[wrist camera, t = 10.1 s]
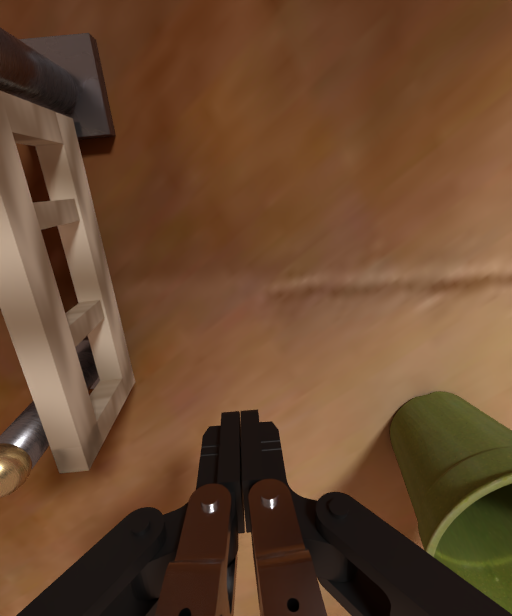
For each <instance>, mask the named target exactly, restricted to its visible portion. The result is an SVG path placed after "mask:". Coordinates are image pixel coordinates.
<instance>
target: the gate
mask: <svg viewBox="0 0 512 616" xmlns="http://www.w3.org/2000/svg"><path fill="white" fill-rule="evenodd" d="M15 143H20V144H26V145H31V146H35V147H36V151H37V154H38V158H39V162H40V165H41V169H42V172H43V176H44V180H45V183H46V187H47V190H48V194H49V198H50V201H44V202H34V203H33V202H32V198H31V195H30V192H29V188H28V185H27V181H26V178H25V175H24V171H23V168H22V164H21V161H20V157H19V154H18V151H17V147H16V144H15ZM55 226H57V227H58V230H59V234H60V238H61V241H62V245H63V248H64V252H65V256H66V259H67V263H68V267H69V270H70V274H71V277H72V281H73V285H74V288H75V292H76V295H77V299H78V304H77V305H76V306H74V307H73V308H72V309H70V310H69V311H68V312H66V313H65V311H64V308H63V304H62V301H61V297H60V294H59V291H58V287H57V284H56V280H55V277H54V273H53V270H52V267H51V263H50V260H49V256H48V253H47V250H46V246H45V243H44V239H43V236H42V233H41V230H42V229H46V228H50V227H55ZM0 308H1V311H2V314H3V317H4V320H5V322H6V325H7V328H8V331H9V333H10V336H11V339H12V342H13V345H14V347H15V350H16V353H17V356H18V359H19V361H20V364H21V367H22V370H23V373H24V375H25V378H26V381H27V384H28V387H29V389H30V392H31V395H32V398H33V401H34V403H35V406H36V409H37V412H38V414H39V417H40V420H41V423H42V426H43V428H44V431H45V434H46V437H47V440H48V442H49V445H50V448H51V451H52V454H53V456H54V459H55V462H56V465H57V468H58V470H59V473H69V472H79V471H88V470H89V469H90V467H91V466H92V464H93V462H94V460H95V458H96V456H97V454H98V452H99V450H100V448H101V446H102V445H103V443H104V441H105V439H106V437H107V435H108V433H109V431H110V429H111V427H112V425H113V424H114V422H115V420H116V418H117V416H118V414H119V412H120V410H121V408H122V406H123V404H124V402H125V401H126V399H127V397H128V395H129V393H130V391H131V389H132V387H133V385H134V383H135V379H134V374H133V370H132V366H131V362H130V358H129V353H128V349H127V345H126V341H125V336H124V332H123V328H122V324H121V320H120V315H119V311H118V307H117V303H116V299H115V294H114V290H113V286H112V282H111V278H110V273H109V269H108V265H107V261H106V256H105V252H104V248H103V244H102V240H101V235H100V231H99V227H98V223H97V219H96V214H95V210H94V206H93V202H92V197H91V193H90V189H89V185H88V181H87V176H86V172H85V168H84V164H83V160H82V155H81V151H80V147H79V143H78V139H77V134H76V130H75V126H74V122H73V118H70V117H67V116H65V115H62V114H60V113H57V112H55V111H52V110H49V109H47V108H44V107H42V106H39V105H36V104H34V103H31V102H29V101H26V100H23V99H21V98H18V97H16V96H13V95H10V94H8V93H5V92H3V91H0ZM87 335H88V339H89V343H90V346H91V350H92V353H93V357H94V361H95V364H96V368H97V371H98V375H99V379H100V381H99V383H98V384H97V386H96V387H95V389H94V390H93V391H92V393H91V394H90V396H89V393H88V389H87V386H86V383H85V379H84V376H83V372H82V369H81V366H80V362H79V359H78V355H77V352H76V349H75V347H76V346H77V345H78V344H79V343H80V342H81V341H82V340H83V339H84V338H85V337H86V336H87Z"/></svg>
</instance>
